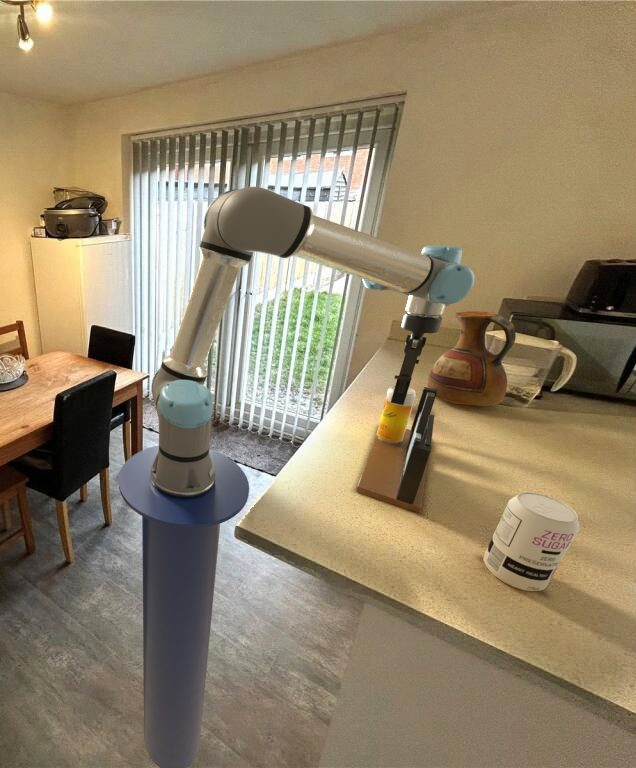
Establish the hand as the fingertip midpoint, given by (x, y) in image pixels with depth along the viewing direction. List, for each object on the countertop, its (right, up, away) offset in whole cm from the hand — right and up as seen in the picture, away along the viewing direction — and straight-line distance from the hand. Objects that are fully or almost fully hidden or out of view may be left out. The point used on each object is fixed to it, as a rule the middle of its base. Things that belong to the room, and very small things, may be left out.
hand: (399, 394), depth 102 cm
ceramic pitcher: (+41, -3, +29) cm, 50 cm away
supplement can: (-3, -31, -33) cm, 45 cm away
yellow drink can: (+1, -13, +5) cm, 14 cm away
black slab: (-4, -17, -9) cm, 19 cm away
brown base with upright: (-3, -17, -2) cm, 18 cm away
